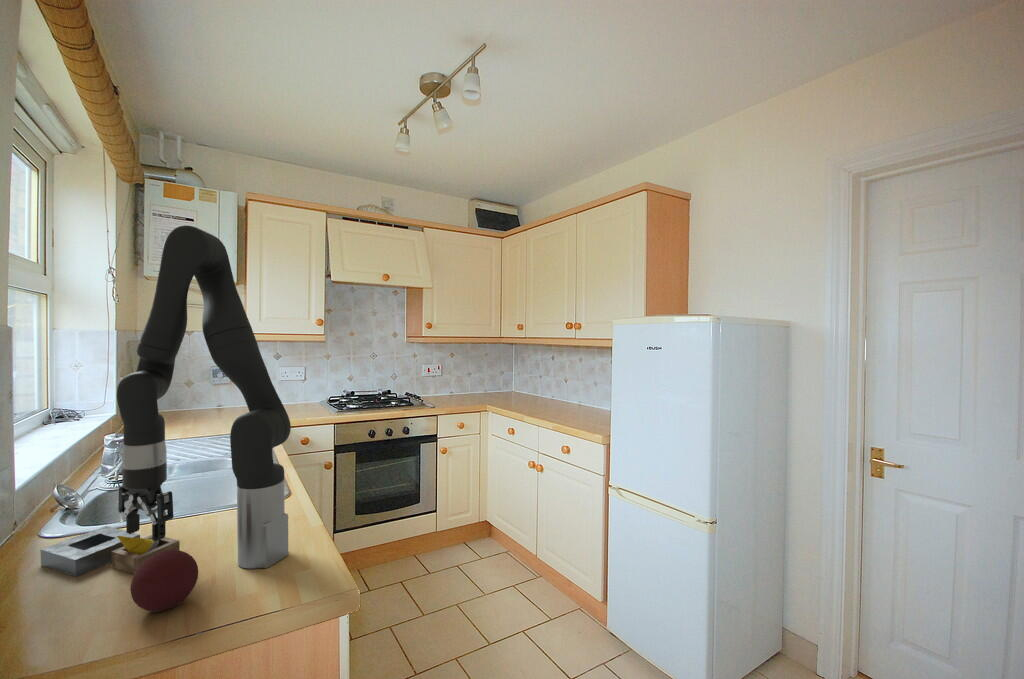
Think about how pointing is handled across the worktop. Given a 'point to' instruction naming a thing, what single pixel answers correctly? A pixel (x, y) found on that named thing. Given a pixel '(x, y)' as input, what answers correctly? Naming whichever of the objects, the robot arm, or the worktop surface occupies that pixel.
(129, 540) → the drill bit
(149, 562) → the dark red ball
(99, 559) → the hub plate
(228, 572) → the worktop surface
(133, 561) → the wooden square frame
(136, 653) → the worktop surface
